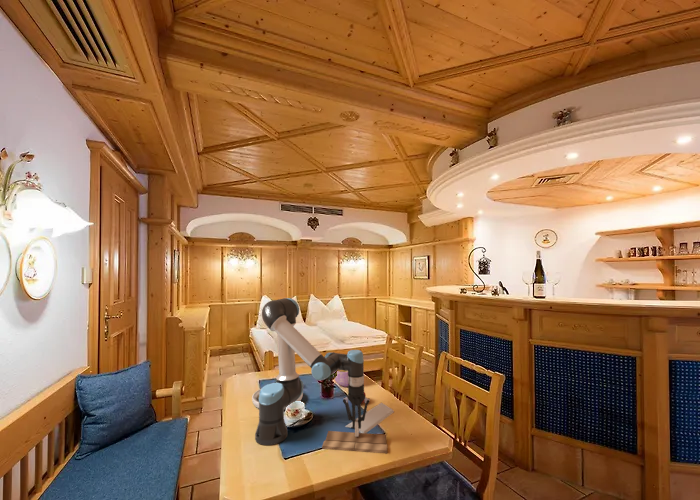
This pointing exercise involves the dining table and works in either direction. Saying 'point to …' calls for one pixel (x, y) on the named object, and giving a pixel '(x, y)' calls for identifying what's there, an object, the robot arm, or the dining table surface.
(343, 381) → the bowl of food
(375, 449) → the laid row
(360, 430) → the crown molding
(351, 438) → the plank
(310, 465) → the dining table surface
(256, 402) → the bowl
